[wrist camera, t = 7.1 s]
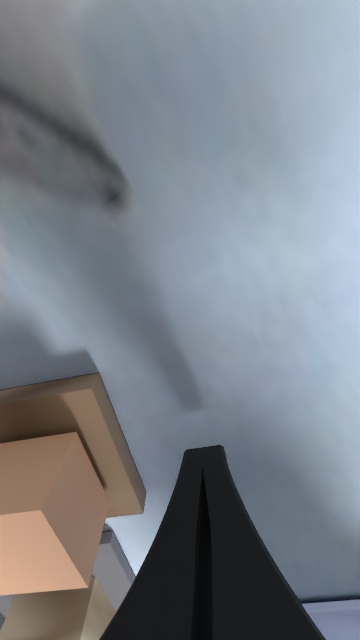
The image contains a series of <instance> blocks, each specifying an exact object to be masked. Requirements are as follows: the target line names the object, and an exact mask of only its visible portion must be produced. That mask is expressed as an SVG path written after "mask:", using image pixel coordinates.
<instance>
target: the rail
mask: <svg viewBox="0 0 360 640" xmlns="http://www.w3.org/2000/svg"><path fill="white" fill-rule="evenodd" d="M72 432H77V434H78V436H79V438H80V440H81V443H82V445H83V447H84V449H85V451H86V453H87V455H88V457H89V460H90V462H91V464H92V466H93V468H94V470H95V472H96V474H97V477H98V479H99V481H100V483H101V485H102V487H103V489H104V491H105V493H106V496H107V498H108V500H109V502H110V504H109V508H108V511H107V515H106V518H109V517H117V516H126V515H134V514H143V512H144V505H145V498H146V491H145V489H144V486H143V484H142V481H141V478H140V476H139V473H138V471H137V468H136V466H135V463H134V461H133V458H132V456H131V453H130V451H129V448H128V445H127V443H126V440H125V438H124V435H123V433H122V430H121V428H120V425H119V423H118V420H117V418H116V415H115V412H114V410H113V407H112V405H111V402H110V400H109V397H108V395H107V392H106V390H105V387H104V384H103V382H102V379H101V377H100V374H99V373H95V374H89V375H83V376H78V377H72V378H67V379H61V380H55V381H50V382H44V383H39V384H33V385H27V386H22V387H16V388H10V389H5V390H0V444H1V443H7V442H14V441H20V440H27V439H33V438H39V437H46V436H52V435H59V434H65V433H72Z"/></svg>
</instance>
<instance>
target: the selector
mask: <svg viewBox="0 0 360 640" xmlns="http://www.w3.org/2000/svg"><path fill="white" fill-rule="evenodd" d="M109 504H110V502H109V500H108V498H107V496H106V493H105V491H104V489H103V487H102V485H101V483H100V481H99V479H98V477H97V474H96V472H95V470H94V468H93V466H92V464H91V462H90V460H89V457H88V455H87V453H86V451H85V449H84V447H83V445H82V443H81V440H80V438H79V436H78V434H77V432H72V433H65V434H59V435H52V436H46V437H39V438H33V439H27V440H20V441H14V442H7V443H1V444H0V596H1V595H12V594H23V593H34V592H45V591H57V590H68V589H79V588H88V587H89V583H90V579H91V575H92V571H93V567H94V563H95V559H96V555H97V551H98V547H99V543H100V539H101V535H102V531H103V527H104V523H105V519H106V515H107V511H108V508H109Z"/></svg>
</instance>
